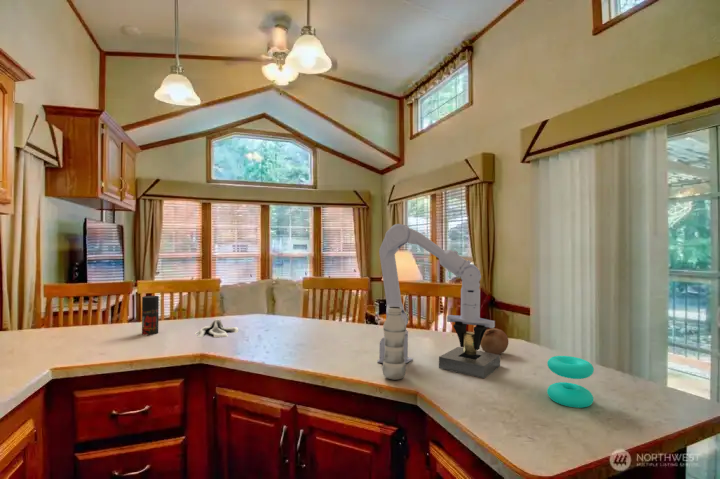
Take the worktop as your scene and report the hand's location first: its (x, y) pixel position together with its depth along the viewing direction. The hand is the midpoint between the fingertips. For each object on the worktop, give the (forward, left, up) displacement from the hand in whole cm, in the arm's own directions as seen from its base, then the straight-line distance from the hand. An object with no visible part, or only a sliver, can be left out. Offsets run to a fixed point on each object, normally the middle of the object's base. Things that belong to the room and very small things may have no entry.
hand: (469, 348), depth 120 cm
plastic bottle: (-23, +13, -6) cm, 27 cm away
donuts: (-9, -29, -6) cm, 31 cm away
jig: (0, 0, -6) cm, 6 cm away
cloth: (-25, +100, -7) cm, 103 cm away
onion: (+19, -1, -6) cm, 20 cm away
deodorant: (-42, +119, -6) cm, 126 cm away
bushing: (0, 0, -1) cm, 1 cm away
